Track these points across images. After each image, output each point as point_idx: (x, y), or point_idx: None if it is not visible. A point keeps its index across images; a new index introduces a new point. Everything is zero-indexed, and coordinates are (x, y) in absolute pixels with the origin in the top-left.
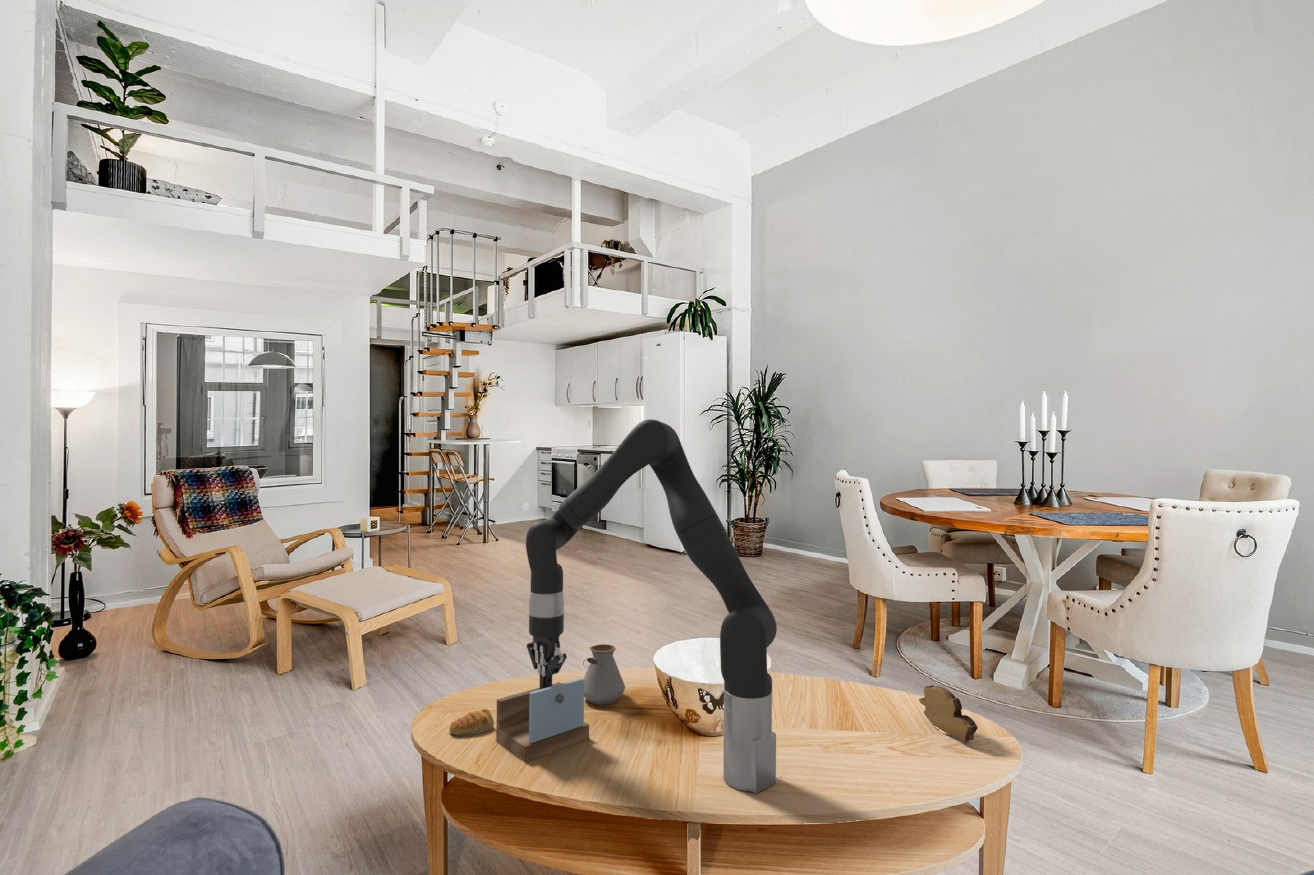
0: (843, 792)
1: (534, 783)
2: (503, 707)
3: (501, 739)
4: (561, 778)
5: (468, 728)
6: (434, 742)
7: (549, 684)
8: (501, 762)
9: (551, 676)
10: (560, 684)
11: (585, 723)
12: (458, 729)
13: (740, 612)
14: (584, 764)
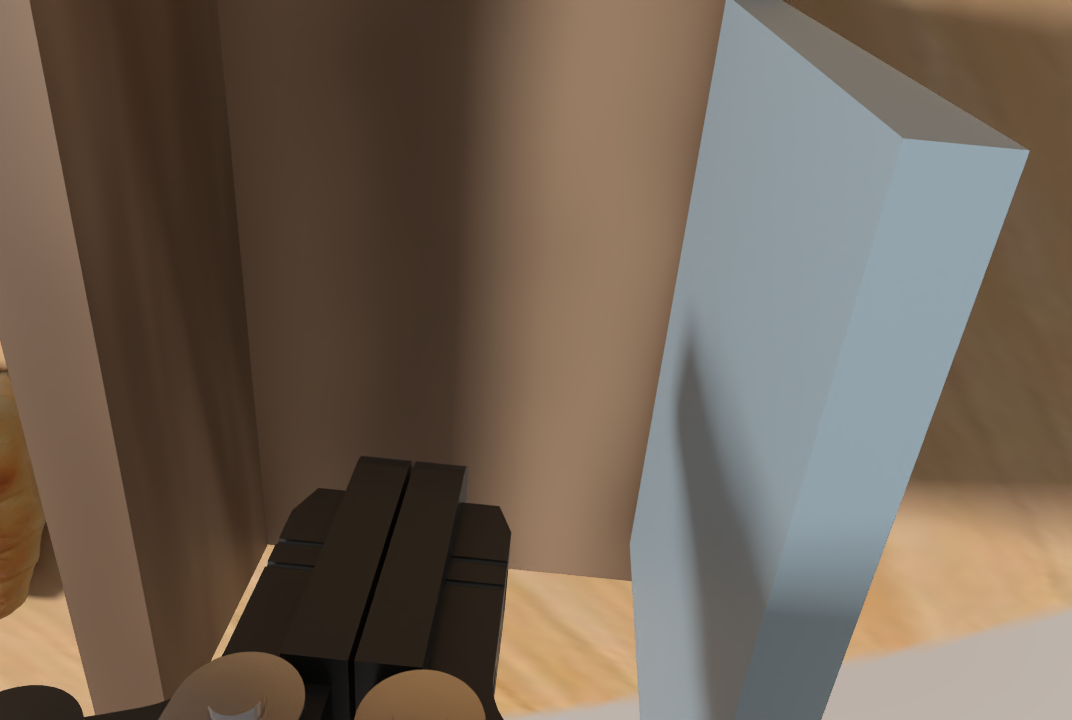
0: None
1: (908, 608)
2: (195, 656)
3: None
4: (1021, 489)
5: (25, 567)
6: (47, 679)
7: (501, 620)
8: (543, 590)
9: (493, 706)
10: (785, 652)
11: None
12: (9, 610)
13: None
14: (1051, 272)
